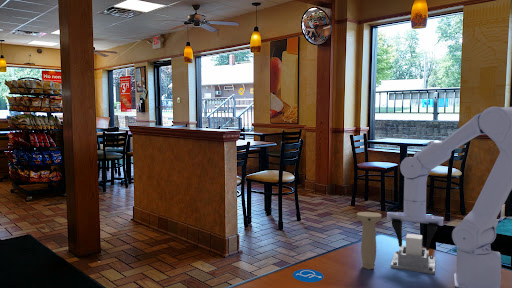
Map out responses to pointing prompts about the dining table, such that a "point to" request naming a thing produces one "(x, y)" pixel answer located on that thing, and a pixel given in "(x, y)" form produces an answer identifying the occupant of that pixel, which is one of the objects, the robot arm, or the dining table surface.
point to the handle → (368, 238)
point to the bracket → (414, 261)
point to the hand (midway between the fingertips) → (413, 247)
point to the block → (414, 244)
